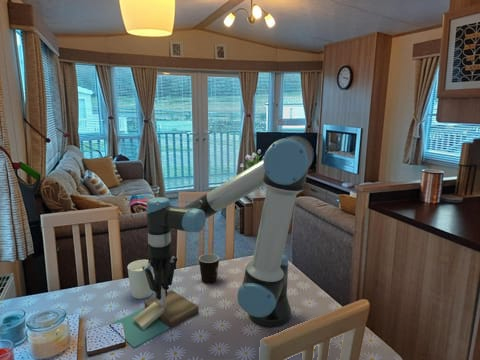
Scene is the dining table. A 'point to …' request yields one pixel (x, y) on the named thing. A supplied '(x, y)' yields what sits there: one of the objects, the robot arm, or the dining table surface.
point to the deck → (175, 309)
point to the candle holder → (139, 279)
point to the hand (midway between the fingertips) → (161, 305)
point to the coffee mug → (209, 267)
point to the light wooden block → (149, 315)
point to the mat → (140, 329)
